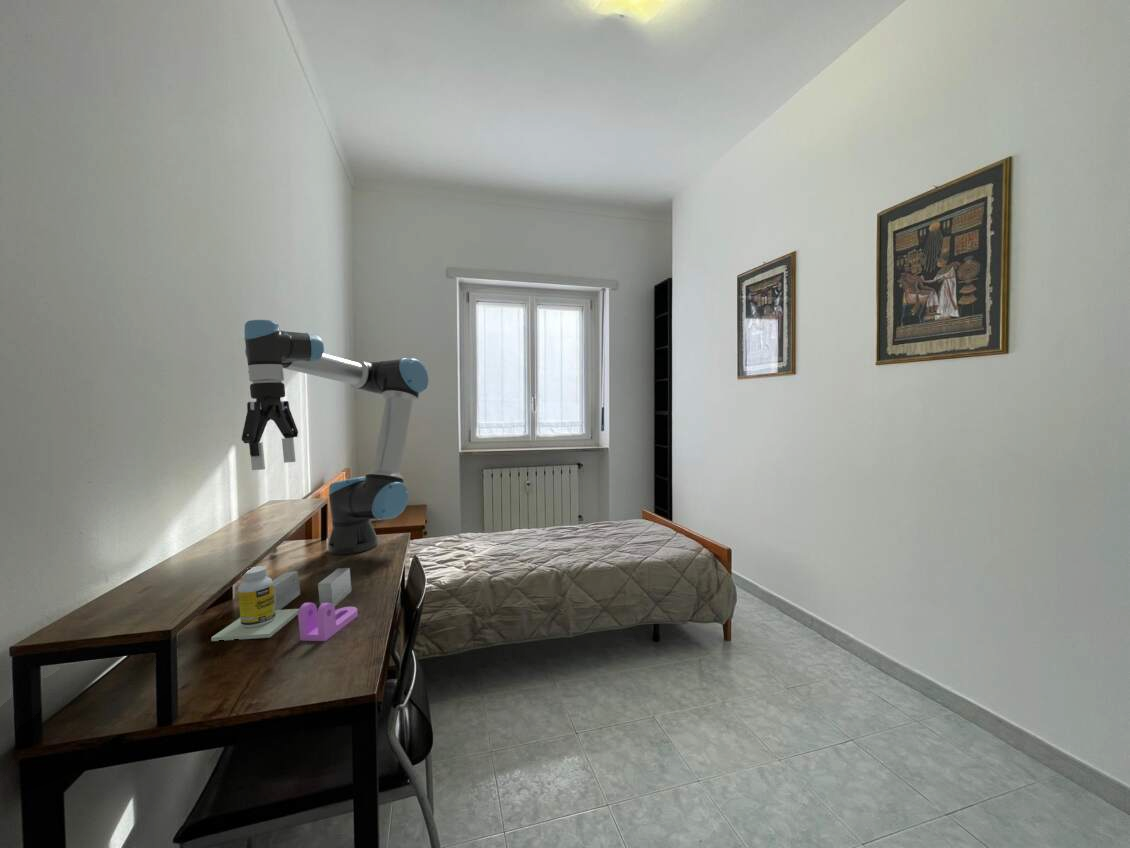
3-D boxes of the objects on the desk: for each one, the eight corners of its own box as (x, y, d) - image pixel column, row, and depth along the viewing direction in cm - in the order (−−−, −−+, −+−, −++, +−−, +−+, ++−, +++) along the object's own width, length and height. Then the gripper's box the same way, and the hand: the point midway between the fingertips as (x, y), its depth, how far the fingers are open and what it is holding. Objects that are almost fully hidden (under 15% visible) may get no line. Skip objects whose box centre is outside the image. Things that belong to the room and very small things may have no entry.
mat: (248, 615, 113) (248, 611, 113) (300, 611, 113) (300, 608, 113) (211, 641, 101) (211, 637, 101) (269, 637, 101) (269, 633, 101)
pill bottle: (251, 631, 102) (246, 576, 102) (235, 625, 106) (229, 572, 105) (282, 618, 108) (277, 566, 107) (265, 613, 111) (261, 563, 111)
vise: (268, 596, 124) (265, 573, 123) (351, 591, 124) (349, 567, 123) (242, 613, 114) (239, 588, 113) (333, 608, 114) (330, 582, 113)
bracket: (325, 641, 98) (322, 607, 97) (300, 641, 99) (297, 607, 98) (362, 612, 110) (360, 582, 110) (340, 612, 111) (337, 582, 111)
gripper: (280, 384, 136) (287, 460, 137) (217, 381, 111) (227, 474, 112) (307, 382, 136) (314, 458, 137) (250, 379, 111) (259, 472, 112)
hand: (275, 465), depth 125 cm, fingers open, 13 cm apart
